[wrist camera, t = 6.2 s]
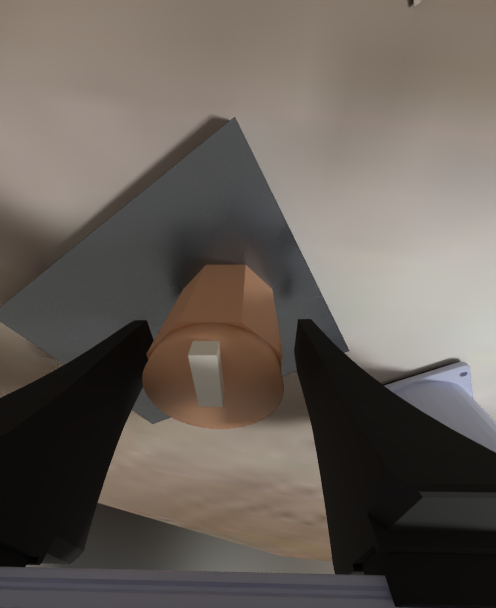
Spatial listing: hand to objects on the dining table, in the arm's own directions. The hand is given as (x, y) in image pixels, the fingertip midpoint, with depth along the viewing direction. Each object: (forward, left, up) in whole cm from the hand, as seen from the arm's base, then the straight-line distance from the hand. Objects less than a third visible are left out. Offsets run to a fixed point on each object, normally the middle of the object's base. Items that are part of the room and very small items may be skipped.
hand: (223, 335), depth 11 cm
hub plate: (0, +4, -4) cm, 5 cm away
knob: (0, 0, -3) cm, 3 cm away
